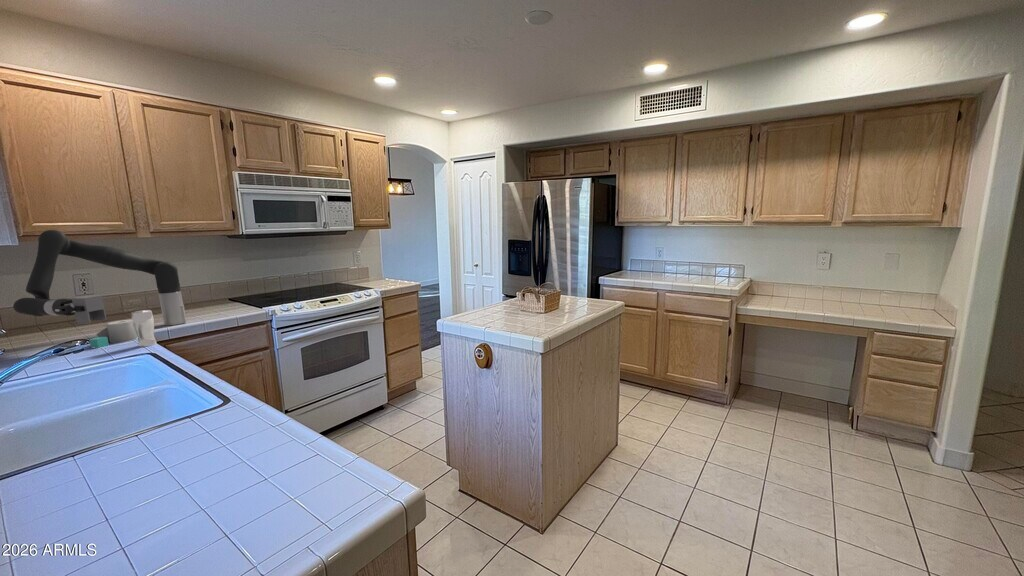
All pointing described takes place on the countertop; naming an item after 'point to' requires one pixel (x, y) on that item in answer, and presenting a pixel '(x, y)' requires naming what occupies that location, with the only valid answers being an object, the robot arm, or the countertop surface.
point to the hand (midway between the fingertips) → (93, 307)
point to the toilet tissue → (119, 331)
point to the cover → (89, 309)
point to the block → (99, 342)
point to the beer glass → (144, 327)
